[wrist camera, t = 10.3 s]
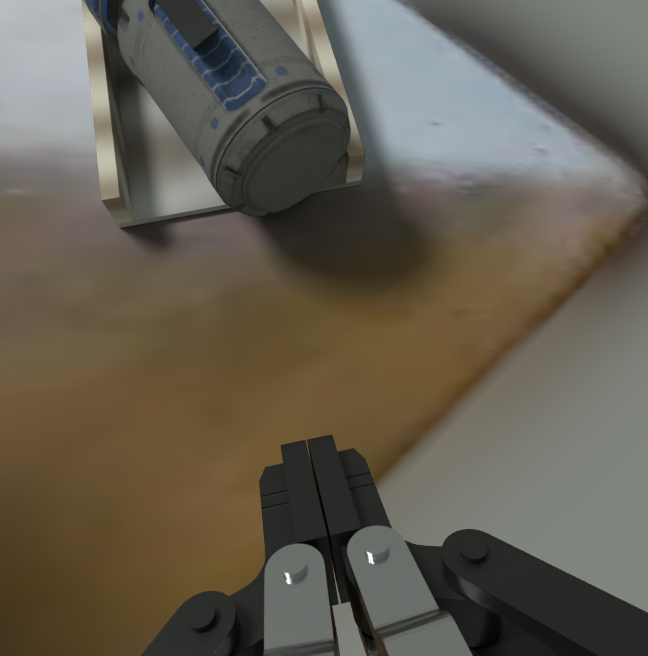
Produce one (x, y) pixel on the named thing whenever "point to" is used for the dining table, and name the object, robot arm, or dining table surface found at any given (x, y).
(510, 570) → the robot arm
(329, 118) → the beverage bottle
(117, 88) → the cream flat rectangular tray
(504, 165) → the dining table surface
